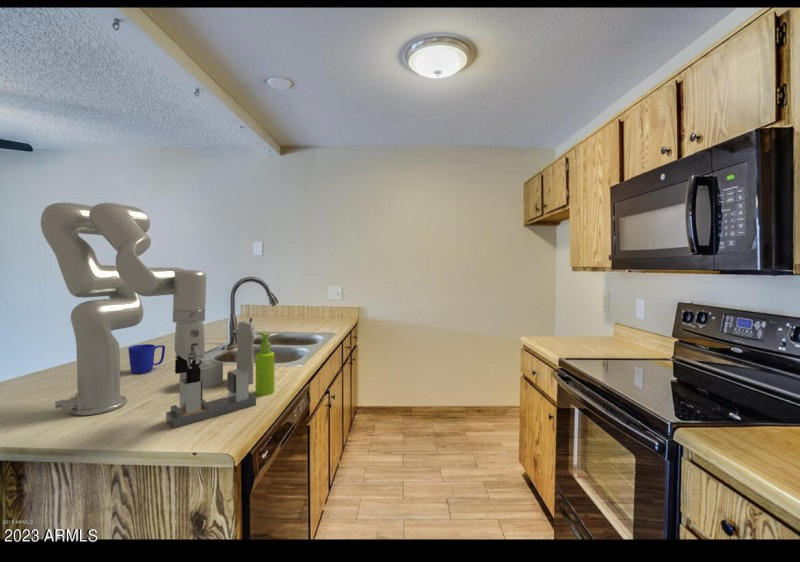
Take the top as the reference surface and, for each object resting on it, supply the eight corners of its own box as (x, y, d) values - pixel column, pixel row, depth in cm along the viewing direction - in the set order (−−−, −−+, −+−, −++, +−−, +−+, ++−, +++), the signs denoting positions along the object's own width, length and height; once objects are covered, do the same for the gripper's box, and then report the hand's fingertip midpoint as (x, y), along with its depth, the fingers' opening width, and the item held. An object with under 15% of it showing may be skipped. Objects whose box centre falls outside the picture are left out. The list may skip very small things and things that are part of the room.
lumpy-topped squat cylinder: (226, 382, 127) (226, 358, 126) (189, 393, 116) (188, 367, 115) (210, 377, 132) (210, 354, 132) (173, 386, 121) (173, 362, 121)
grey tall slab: (231, 379, 130) (231, 320, 129) (242, 376, 133) (242, 319, 132) (247, 385, 124) (248, 323, 123) (258, 382, 127) (258, 322, 126)
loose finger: (186, 414, 93) (185, 384, 93) (179, 408, 97) (179, 379, 97) (203, 409, 96) (203, 381, 96) (196, 403, 100) (196, 376, 100)
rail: (172, 428, 91) (172, 389, 90) (166, 421, 95) (165, 383, 95) (255, 405, 107) (256, 371, 107) (247, 399, 111) (247, 367, 111)
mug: (169, 369, 140) (169, 344, 140) (134, 376, 130) (133, 350, 130) (159, 365, 145) (159, 341, 144) (124, 372, 135) (124, 347, 134)
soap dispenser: (266, 387, 123) (267, 330, 122) (277, 391, 118) (278, 333, 117) (250, 391, 118) (250, 332, 117) (261, 396, 114) (261, 335, 113)
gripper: (215, 319, 92) (213, 383, 93) (193, 310, 104) (192, 367, 105) (183, 322, 87) (181, 389, 88) (164, 311, 98) (162, 371, 99)
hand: (187, 377), depth 96 cm, fingers open, 9 cm apart
